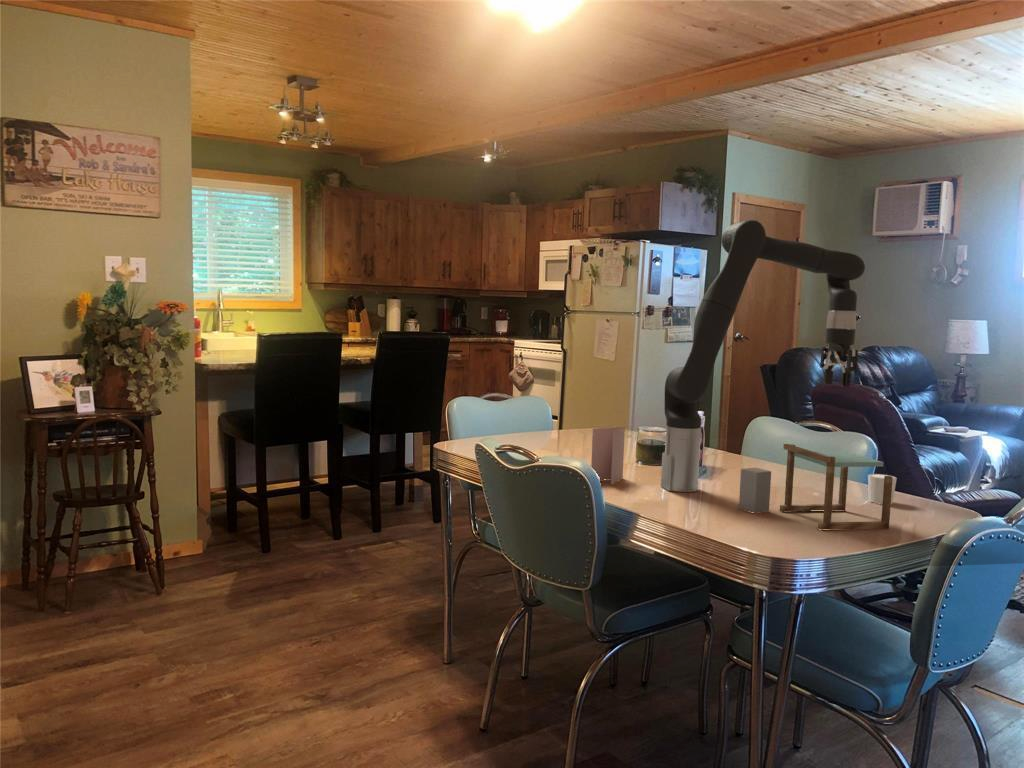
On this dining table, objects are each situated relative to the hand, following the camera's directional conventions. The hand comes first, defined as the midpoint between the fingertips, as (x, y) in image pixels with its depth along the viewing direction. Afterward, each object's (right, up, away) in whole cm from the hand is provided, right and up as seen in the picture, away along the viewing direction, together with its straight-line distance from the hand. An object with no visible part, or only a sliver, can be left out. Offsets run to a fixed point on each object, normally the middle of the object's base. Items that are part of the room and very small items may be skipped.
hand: (836, 385), depth 217 cm
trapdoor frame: (-15, -32, -34) cm, 49 cm away
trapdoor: (-15, -18, -35) cm, 42 cm away
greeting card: (-63, -28, +1) cm, 68 cm away
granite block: (-32, -31, -27) cm, 52 cm away
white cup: (+5, -31, -14) cm, 34 cm away
